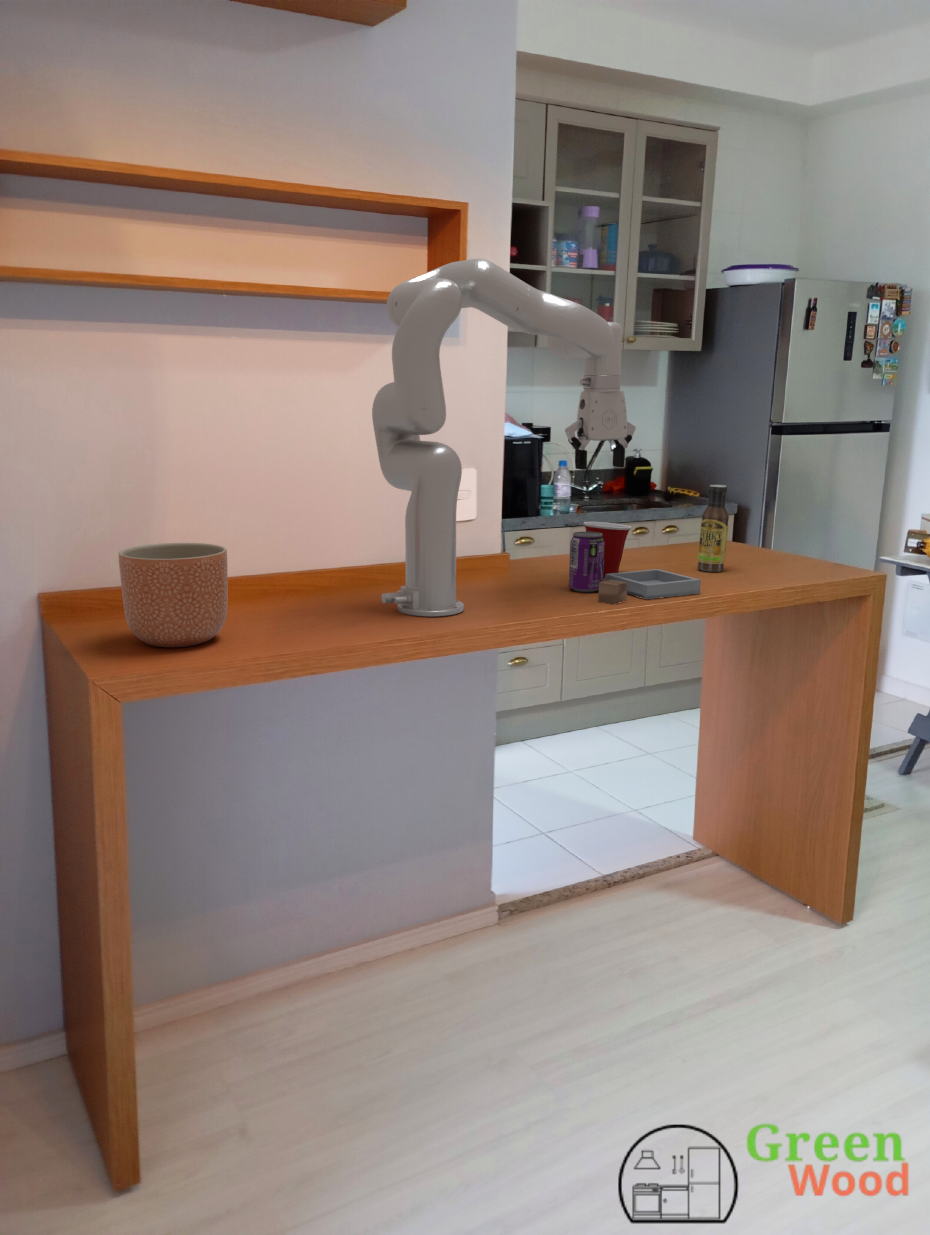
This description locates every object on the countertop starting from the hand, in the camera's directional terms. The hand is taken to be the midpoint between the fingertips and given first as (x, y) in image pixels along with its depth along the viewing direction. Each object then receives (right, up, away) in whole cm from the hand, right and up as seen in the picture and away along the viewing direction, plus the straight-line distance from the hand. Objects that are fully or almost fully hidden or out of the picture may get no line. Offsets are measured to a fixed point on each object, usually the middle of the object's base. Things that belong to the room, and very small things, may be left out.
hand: (599, 468), depth 211 cm
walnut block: (+1, -28, -10) cm, 30 cm away
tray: (+11, -26, 0) cm, 28 cm away
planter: (-76, -35, -44) cm, 95 cm away
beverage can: (-3, -26, +1) cm, 26 cm away
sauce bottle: (+29, -21, +25) cm, 44 cm away
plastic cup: (+4, -22, +18) cm, 28 cm away
